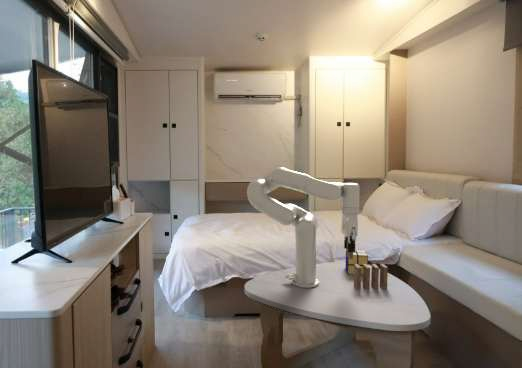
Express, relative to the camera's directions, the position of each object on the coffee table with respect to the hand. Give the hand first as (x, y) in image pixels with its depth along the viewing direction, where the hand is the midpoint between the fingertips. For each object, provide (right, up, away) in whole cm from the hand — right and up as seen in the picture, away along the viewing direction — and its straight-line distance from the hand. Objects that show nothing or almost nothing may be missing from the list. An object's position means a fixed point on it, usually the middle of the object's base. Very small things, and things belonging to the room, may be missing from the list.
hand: (349, 249), depth 158 cm
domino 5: (+16, -17, +2) cm, 24 cm away
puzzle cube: (+9, -16, +23) cm, 29 cm away
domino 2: (+4, -17, +1) cm, 18 cm away
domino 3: (+8, -17, +1) cm, 19 cm away
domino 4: (+12, -17, +2) cm, 21 cm away
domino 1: (0, -3, 0) cm, 4 cm away
